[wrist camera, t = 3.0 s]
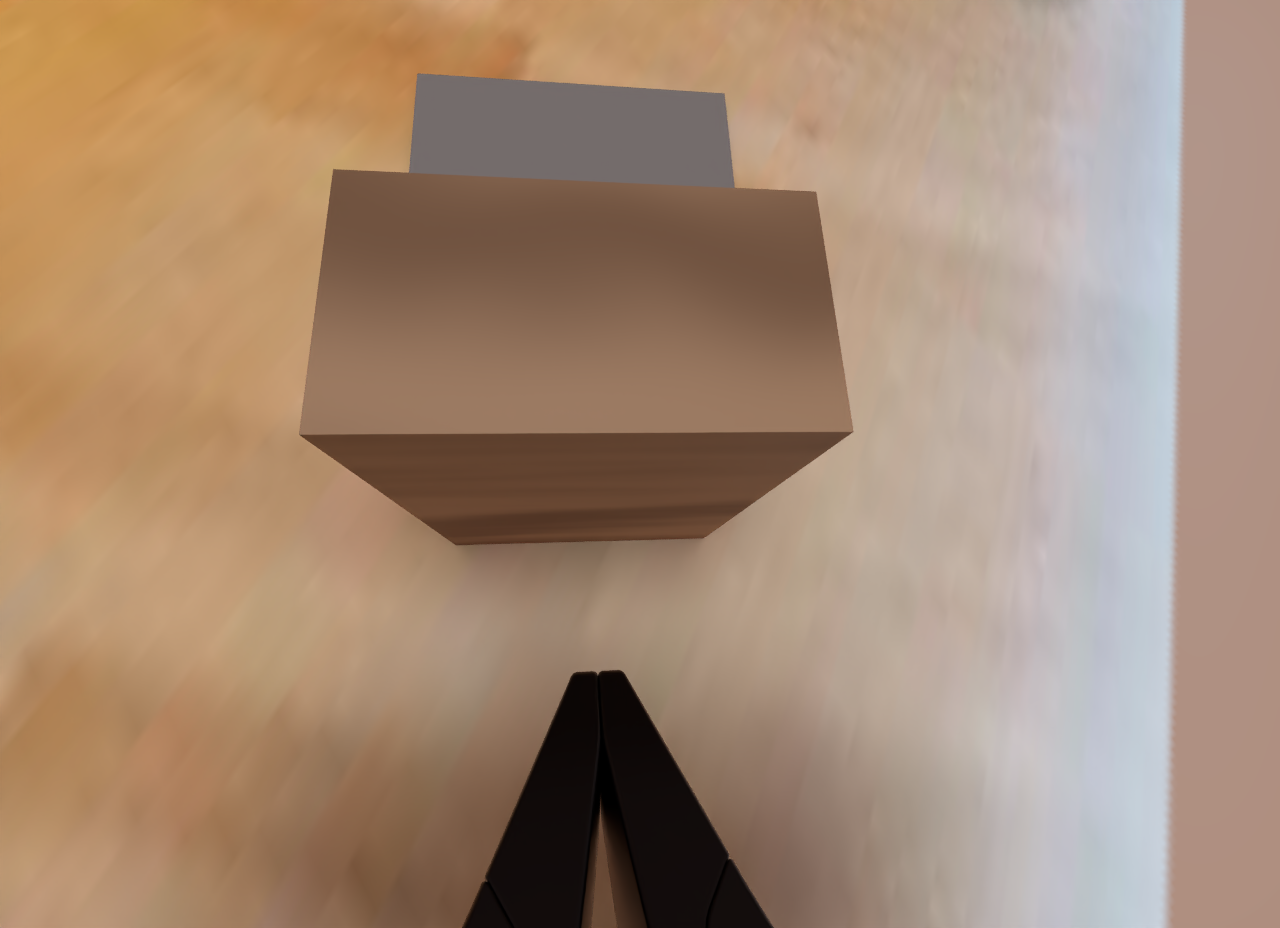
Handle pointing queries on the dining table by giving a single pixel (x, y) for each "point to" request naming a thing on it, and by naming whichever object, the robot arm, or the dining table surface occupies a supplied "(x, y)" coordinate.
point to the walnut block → (572, 352)
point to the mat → (569, 132)
